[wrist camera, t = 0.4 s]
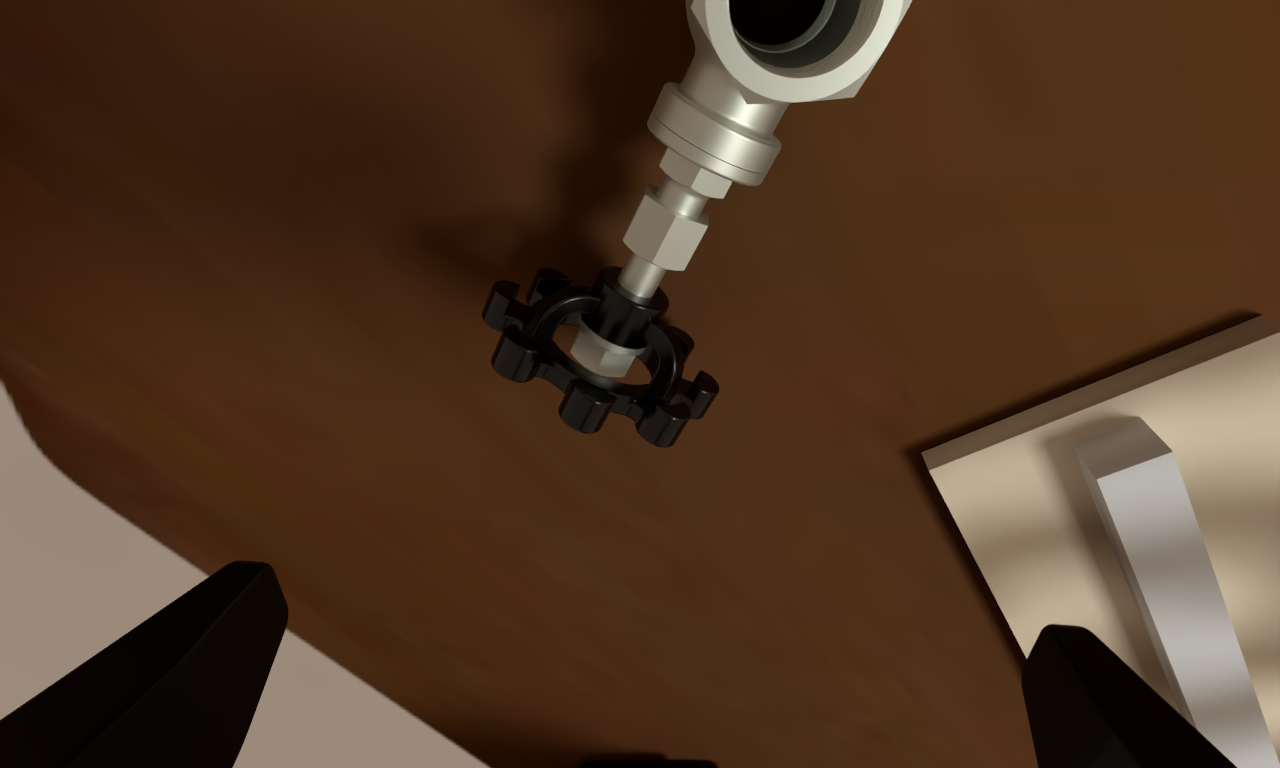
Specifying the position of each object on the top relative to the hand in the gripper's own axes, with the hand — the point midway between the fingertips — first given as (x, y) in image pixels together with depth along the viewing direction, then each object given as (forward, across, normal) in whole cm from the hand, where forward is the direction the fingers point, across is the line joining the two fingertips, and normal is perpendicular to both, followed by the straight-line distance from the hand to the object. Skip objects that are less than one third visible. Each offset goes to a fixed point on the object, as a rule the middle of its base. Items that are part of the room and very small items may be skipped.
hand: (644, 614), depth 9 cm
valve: (+15, 0, -1) cm, 15 cm away
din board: (+13, -19, +16) cm, 29 cm away
